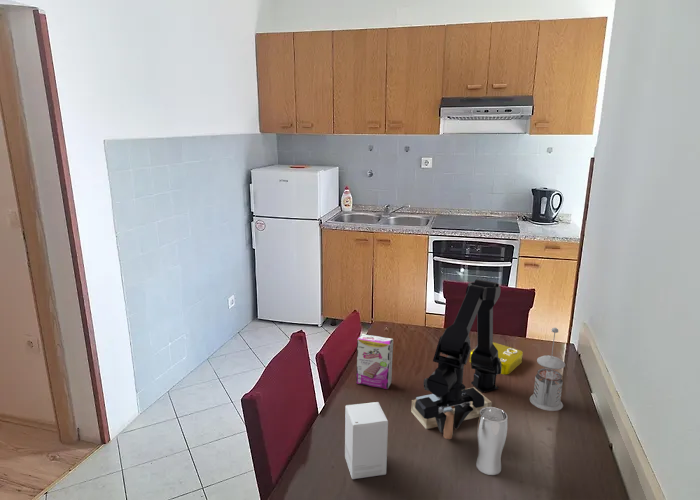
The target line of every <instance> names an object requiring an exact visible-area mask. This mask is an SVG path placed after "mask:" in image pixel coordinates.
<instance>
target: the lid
mask: <svg viewBox="0 0 700 500" xmlns="http://www.w3.org/2000/svg"><path fill="white" fill-rule="evenodd" d="M426 397H429V398H430V399H431V400H432V401H433V402H435V401H437V400H440V398H439V397H436V396H435V395H434V394H433V393H431V394H426V395H421V396H416V397H415V399H417V400H418V399H422V398H426ZM449 411H452V408H451V407H447V408H444V412H443V413H445V412H449Z"/></svg>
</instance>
